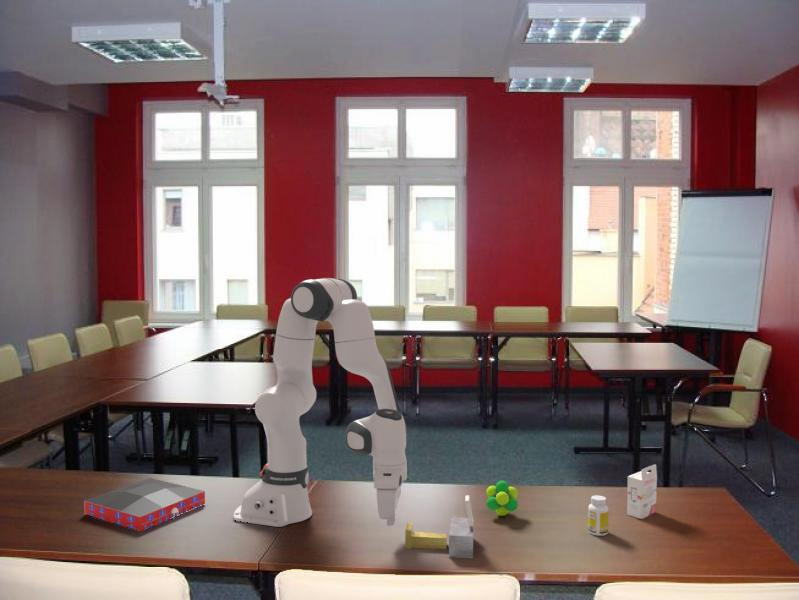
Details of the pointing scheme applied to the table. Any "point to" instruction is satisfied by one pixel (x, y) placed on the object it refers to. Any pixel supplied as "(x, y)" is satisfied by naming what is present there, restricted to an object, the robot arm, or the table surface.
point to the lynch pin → (424, 539)
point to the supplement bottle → (598, 516)
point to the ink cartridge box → (642, 493)
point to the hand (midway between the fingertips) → (391, 523)
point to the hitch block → (460, 538)
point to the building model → (144, 503)
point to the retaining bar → (469, 511)
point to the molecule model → (502, 498)
